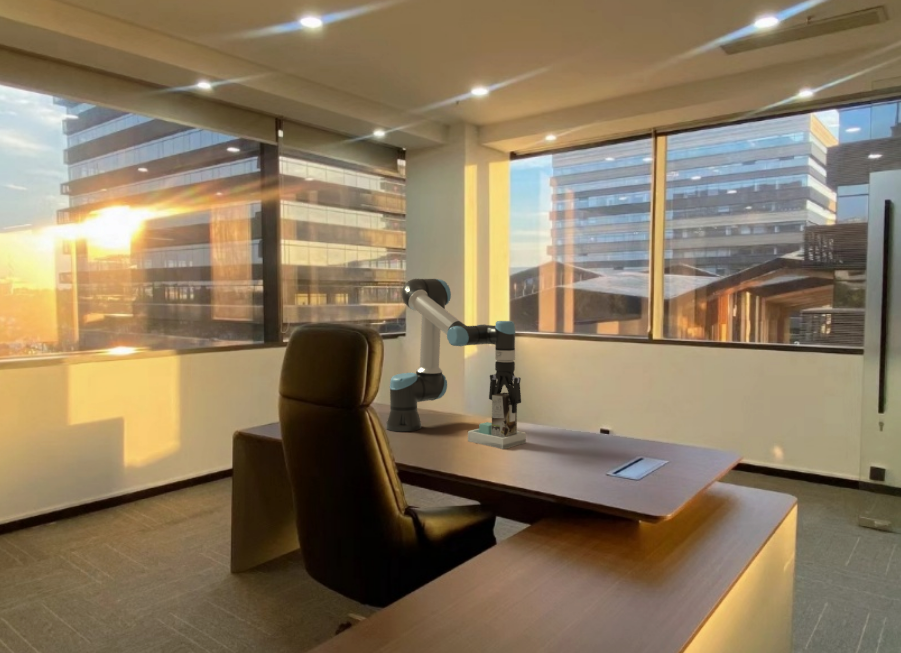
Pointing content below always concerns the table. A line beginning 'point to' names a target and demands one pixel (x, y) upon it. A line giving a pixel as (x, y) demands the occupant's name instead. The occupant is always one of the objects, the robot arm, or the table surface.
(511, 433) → the coffee box
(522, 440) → the tote
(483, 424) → the teal cube
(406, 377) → the robot arm
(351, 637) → the table surface
